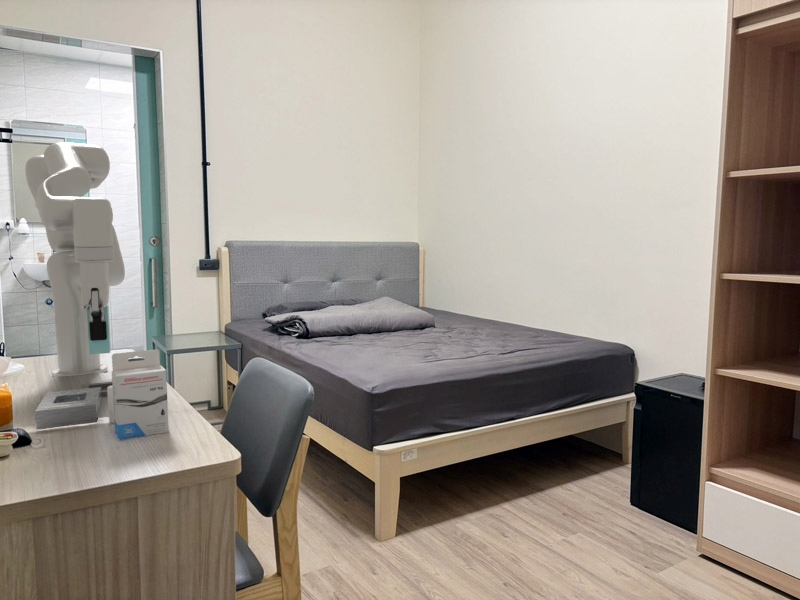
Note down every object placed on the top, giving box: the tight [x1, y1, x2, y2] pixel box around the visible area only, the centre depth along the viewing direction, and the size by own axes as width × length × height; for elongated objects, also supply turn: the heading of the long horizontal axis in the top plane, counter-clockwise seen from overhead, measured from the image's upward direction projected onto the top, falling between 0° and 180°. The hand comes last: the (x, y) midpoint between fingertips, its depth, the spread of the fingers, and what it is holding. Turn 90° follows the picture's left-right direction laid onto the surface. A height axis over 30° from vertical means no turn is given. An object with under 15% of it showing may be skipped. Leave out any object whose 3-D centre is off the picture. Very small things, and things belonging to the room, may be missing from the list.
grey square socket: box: [80, 381, 112, 398], centre depth 130 cm, size 9×9×2 cm
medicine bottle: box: [107, 357, 145, 425], centre depth 112 cm, size 7×7×12 cm
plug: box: [87, 305, 112, 355], centre depth 129 cm, size 4×4×10 cm
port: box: [34, 387, 103, 430], centre depth 116 cm, size 14×10×4 cm
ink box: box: [111, 348, 170, 441], centre depth 105 cm, size 8×5×15 cm, turn 123°
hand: (99, 337), depth 129 cm, fingers closed on plug, 4 cm apart
